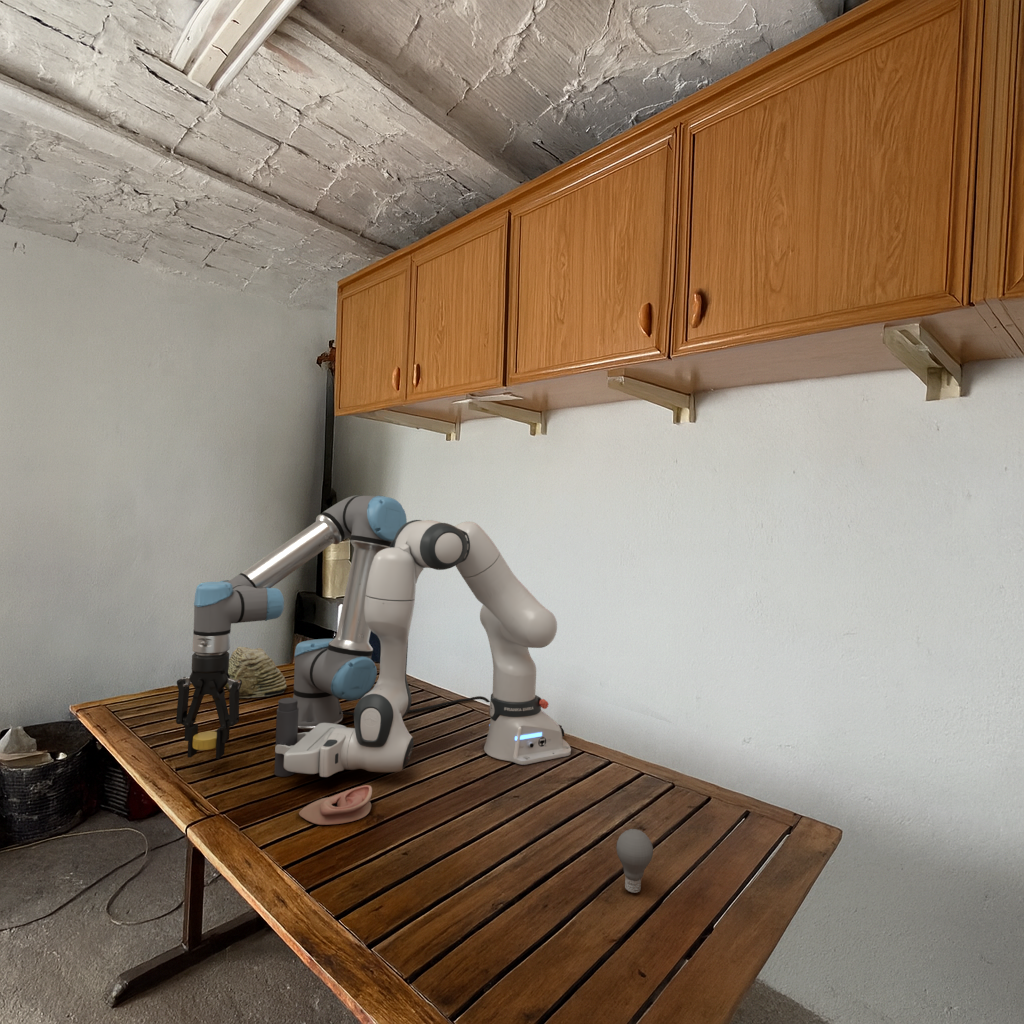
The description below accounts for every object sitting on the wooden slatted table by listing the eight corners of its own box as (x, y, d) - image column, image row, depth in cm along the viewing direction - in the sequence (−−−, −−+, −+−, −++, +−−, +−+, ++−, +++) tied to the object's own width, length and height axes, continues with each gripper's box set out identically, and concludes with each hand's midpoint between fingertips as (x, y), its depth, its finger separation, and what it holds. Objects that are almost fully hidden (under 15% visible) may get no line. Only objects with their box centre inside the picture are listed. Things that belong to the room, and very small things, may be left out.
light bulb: (610, 879, 108) (613, 822, 108) (644, 879, 109) (647, 822, 109) (619, 902, 102) (622, 840, 102) (655, 901, 103) (658, 840, 103)
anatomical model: (291, 800, 123) (320, 775, 134) (290, 820, 123) (320, 794, 134) (354, 810, 120) (379, 784, 132) (353, 830, 121) (378, 803, 132)
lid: (190, 751, 137) (190, 741, 137) (194, 741, 143) (195, 731, 143) (218, 749, 139) (218, 739, 139) (221, 740, 144) (222, 730, 144)
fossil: (218, 695, 195) (220, 647, 195) (278, 685, 208) (279, 640, 207) (228, 703, 189) (230, 653, 188) (289, 692, 201) (290, 645, 201)
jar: (295, 767, 148) (298, 696, 147) (296, 775, 143) (299, 702, 143) (274, 769, 146) (277, 698, 146) (274, 777, 142) (277, 704, 141)
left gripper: (160, 653, 137) (155, 760, 137) (246, 658, 137) (240, 764, 137) (177, 646, 144) (173, 747, 145) (259, 650, 145) (254, 751, 145)
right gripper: (357, 718, 154) (302, 714, 155) (324, 751, 133) (261, 746, 134) (356, 744, 154) (301, 739, 155) (323, 781, 133) (260, 775, 135)
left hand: (206, 755), depth 141 cm, fingers closed on lid, 5 cm apart
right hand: (282, 742), depth 145 cm, fingers closed on jar, 5 cm apart
